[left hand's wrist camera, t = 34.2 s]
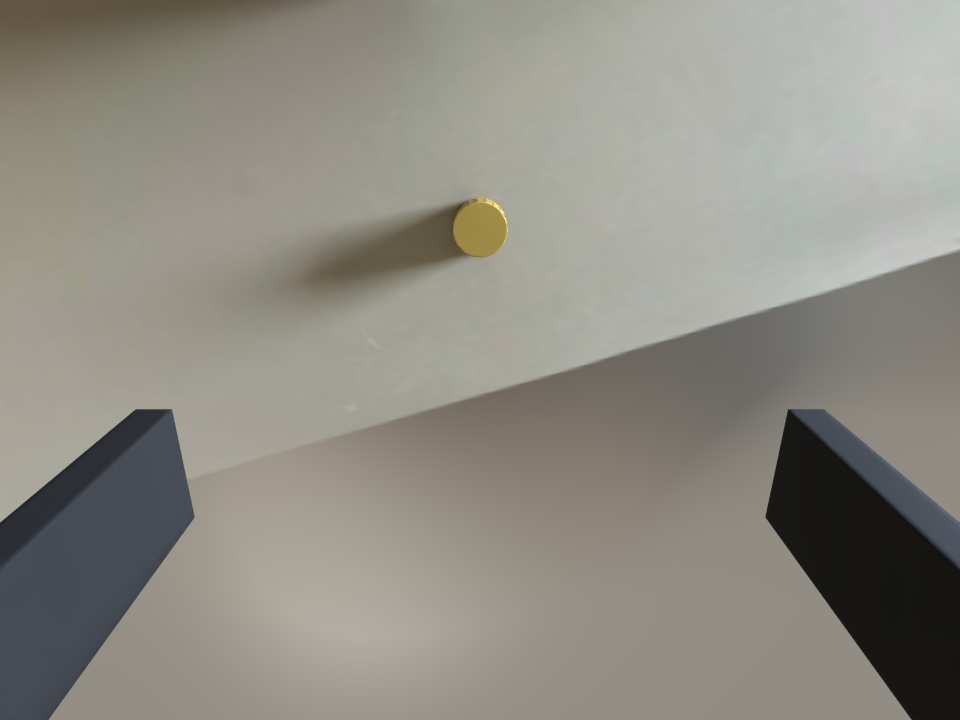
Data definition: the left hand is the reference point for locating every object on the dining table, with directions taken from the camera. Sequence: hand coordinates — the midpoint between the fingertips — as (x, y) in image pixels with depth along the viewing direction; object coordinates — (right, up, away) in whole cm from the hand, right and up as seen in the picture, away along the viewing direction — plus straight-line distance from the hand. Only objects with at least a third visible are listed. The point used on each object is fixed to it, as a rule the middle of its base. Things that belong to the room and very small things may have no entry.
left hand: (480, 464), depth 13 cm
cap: (0, +11, +29) cm, 31 cm away
